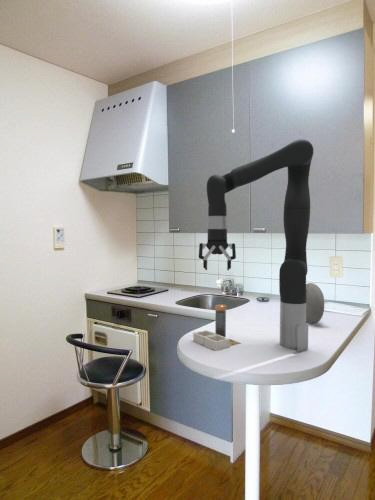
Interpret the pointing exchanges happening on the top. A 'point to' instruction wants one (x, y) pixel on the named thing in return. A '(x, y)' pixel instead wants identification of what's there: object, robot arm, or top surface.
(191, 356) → the top surface
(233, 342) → the board
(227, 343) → the brass-tag socket
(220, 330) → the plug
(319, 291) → the grey round disc
